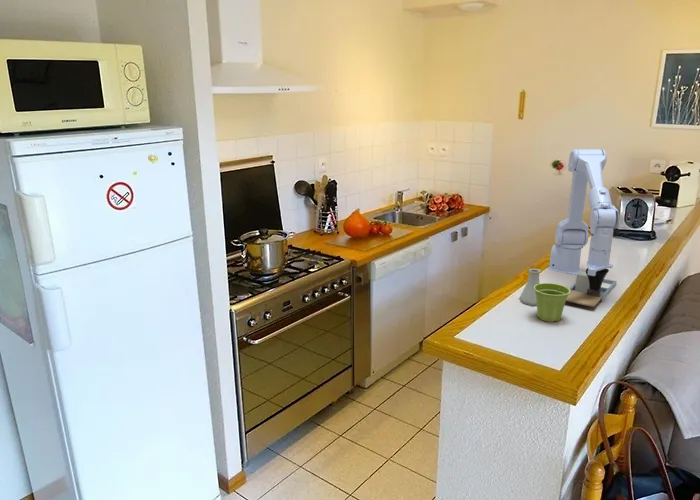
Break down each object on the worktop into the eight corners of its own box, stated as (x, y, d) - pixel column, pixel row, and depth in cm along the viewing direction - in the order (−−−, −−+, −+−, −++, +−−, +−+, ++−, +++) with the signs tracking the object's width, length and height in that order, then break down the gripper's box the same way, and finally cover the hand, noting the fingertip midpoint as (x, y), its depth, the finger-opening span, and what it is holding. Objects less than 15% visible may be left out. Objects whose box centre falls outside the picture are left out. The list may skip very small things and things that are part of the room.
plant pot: (563, 327, 142) (566, 297, 140) (527, 320, 147) (530, 290, 144) (569, 315, 150) (573, 286, 147) (535, 308, 154) (538, 280, 152)
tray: (566, 296, 164) (566, 291, 163) (582, 279, 178) (583, 275, 178) (601, 303, 158) (602, 298, 157) (615, 285, 172) (616, 281, 172)
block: (574, 290, 167) (576, 274, 165) (578, 287, 170) (580, 271, 168) (588, 293, 165) (590, 276, 163) (591, 289, 168) (593, 273, 166)
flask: (532, 308, 155) (535, 275, 152) (514, 300, 161) (516, 268, 158) (549, 303, 158) (553, 271, 155) (531, 295, 164) (534, 265, 162)
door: (558, 299, 157) (558, 293, 156) (567, 290, 164) (568, 284, 163) (594, 307, 151) (594, 300, 150) (602, 297, 158) (603, 291, 157)
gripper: (608, 256, 148) (602, 302, 152) (620, 245, 159) (614, 288, 163) (582, 252, 152) (577, 296, 156) (595, 241, 163) (590, 283, 167)
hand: (594, 292), depth 160 cm, fingers closed
